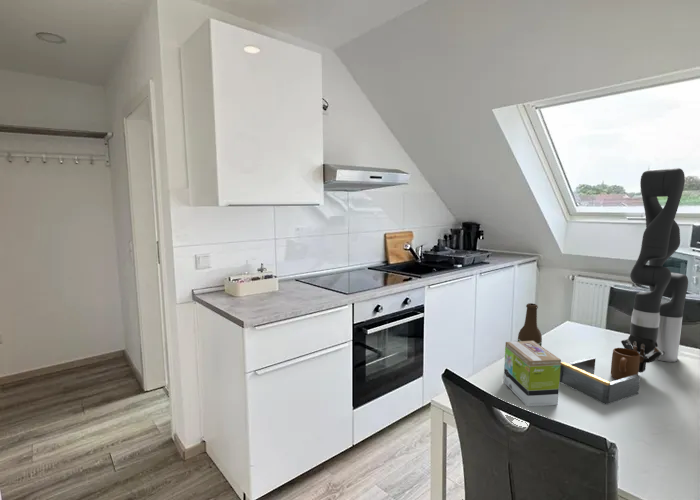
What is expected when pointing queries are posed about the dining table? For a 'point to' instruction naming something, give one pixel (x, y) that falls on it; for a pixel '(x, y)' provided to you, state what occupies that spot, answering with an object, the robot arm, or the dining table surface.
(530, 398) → the tea box
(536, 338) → the beer bottle
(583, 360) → the bracket
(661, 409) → the dining table surface
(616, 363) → the mug
